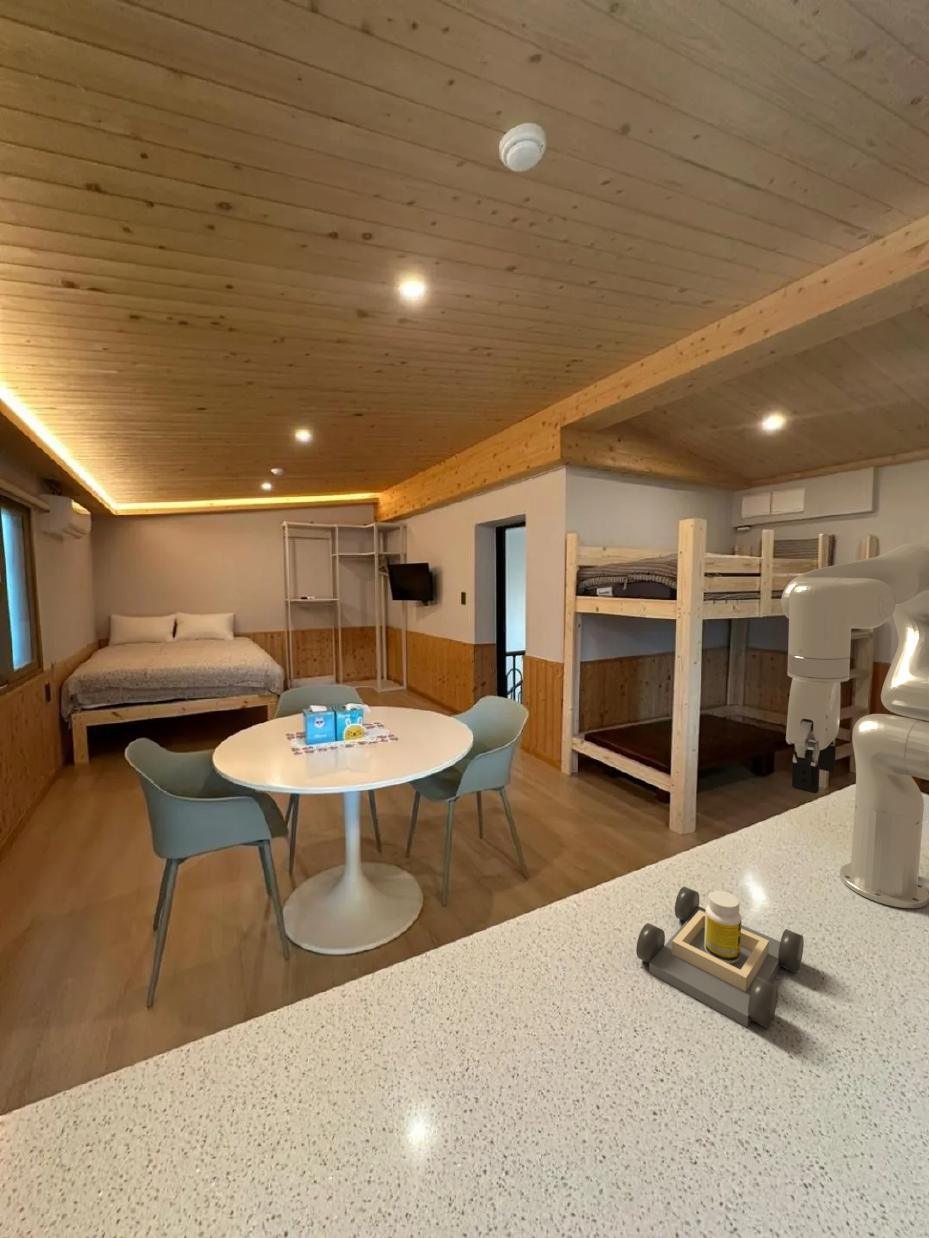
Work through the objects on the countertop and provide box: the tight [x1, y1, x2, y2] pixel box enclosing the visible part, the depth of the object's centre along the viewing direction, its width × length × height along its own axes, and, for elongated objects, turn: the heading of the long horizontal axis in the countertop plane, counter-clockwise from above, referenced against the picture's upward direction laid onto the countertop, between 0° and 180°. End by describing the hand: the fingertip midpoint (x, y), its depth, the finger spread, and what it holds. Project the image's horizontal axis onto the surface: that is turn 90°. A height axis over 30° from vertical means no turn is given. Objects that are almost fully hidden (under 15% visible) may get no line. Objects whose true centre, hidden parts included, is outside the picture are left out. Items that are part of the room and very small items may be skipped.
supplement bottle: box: [704, 890, 742, 964], centre depth 77 cm, size 5×5×8 cm
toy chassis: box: [635, 886, 805, 1029], centre depth 78 cm, size 18×17×5 cm
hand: (814, 779), depth 79 cm, fingers open, 9 cm apart
